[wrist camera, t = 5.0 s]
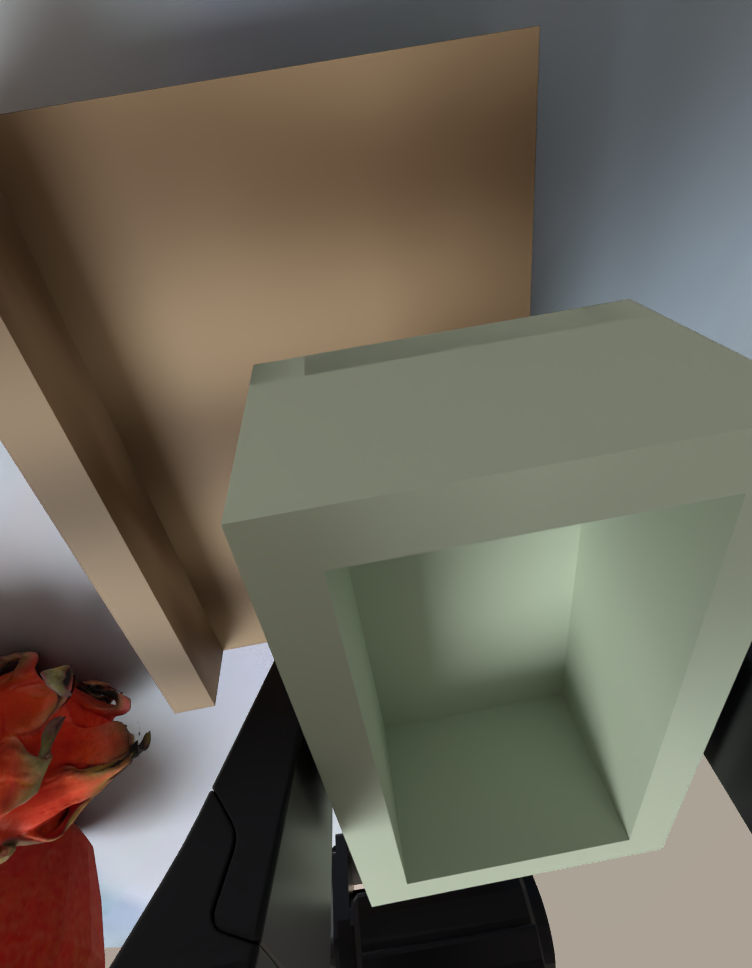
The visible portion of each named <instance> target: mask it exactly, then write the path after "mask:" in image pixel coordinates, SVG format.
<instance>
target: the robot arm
mask: <svg viewBox="0 0 752 968" xmlns="http://www.w3.org/2000/svg"><path fill="white" fill-rule="evenodd" d="M703 754H704V755H705V757H706V759H707V760H708V762H709V764H710V765H711V767H712V769H713V770H714V772H715V774H716V775H717V777H718V779H719V780H720V782H721V784H722V785H723V787H724V788H725V790H726V792H727V793H728V795H729V797H730V798H731V800H732V802H733V803H734V805H735V807H736V808H737V810H738V812H739V813H740V815H741V817H742V818H743V820H744V822H745V823H746V825H747V827H748V828H749V830H750V832H751V833H752V641H751V644H750V646H749V648H748V651H747V653H746V655H745V658H744V660H743V662H742V665H741V667H740V669H739V672H738V674H737V676H736V679H735V681H734V683H733V686H732V688H731V690H730V693H729V695H728V697H727V699H726V702H725V704H724V706H723V709H722V711H721V713H720V716H719V718H718V720H717V723H716V725H715V727H714V730H713V732H712V734H711V737H710V739H709V741H708V744H707V746H706V748H705V751H704V753H703ZM213 790H214V791H210V792H209V794H208V796H207V798H206V800H205V803H204V805H203V807H202V809H201V811H200V813H199V815H198V817H197V819H196V821H195V823H194V824H193V826H192V828H191V830H190V832H189V834H188V836H187V838H186V840H185V842H184V844H183V845H182V847H181V849H180V851H179V853H178V854H177V856H176V858H175V859H174V861H173V863H172V865H171V866H170V868H169V870H168V871H167V873H166V875H165V877H164V878H163V880H162V882H161V883H160V885H159V887H158V888H157V890H156V892H155V893H154V895H153V897H152V898H151V900H150V902H149V903H148V905H147V907H146V908H145V910H144V911H143V913H142V915H141V916H140V918H139V920H138V921H137V923H136V925H135V926H134V928H133V930H132V931H131V933H130V935H129V936H128V938H127V939H126V941H125V943H124V944H123V946H122V948H121V950H120V951H119V953H118V954H117V956H116V958H115V959H114V961H113V962H112V964H111V966H110V967H109V968H555V954H554V947H553V941H552V936H551V931H550V927H549V923H548V919H547V915H546V912H545V908H544V906H543V902H542V899H541V896H540V894H539V891H538V888H537V886H536V883H535V881H534V878H533V875H529V876H524V877H519V878H514V879H509V880H504V881H499V882H494V883H489V884H484V885H479V886H474V887H469V888H464V889H459V890H454V891H449V892H444V893H439V894H434V895H429V896H424V897H419V898H414V899H409V900H404V901H399V902H394V903H389V904H384V905H379V906H374V907H372V906H371V903H370V901H369V898H368V896H367V893H366V890H365V888H364V889H359V890H354V885H357V884H363V883H362V880H361V878H360V875H359V873H358V870H357V868H356V865H355V863H354V860H353V858H352V855H351V853H350V850H349V847H348V845H347V842H346V840H345V837H344V835H343V833H341V834H336V835H335V839H336V846H334V847H333V848H332V808H333V807H332V804H331V802H330V799H329V797H328V794H327V792H326V789H325V787H324V784H323V782H322V779H321V777H320V774H319V772H318V769H317V767H316V764H315V761H314V759H313V756H312V754H311V751H310V749H309V746H308V744H307V741H306V739H305V736H304V734H303V731H302V729H301V726H300V724H299V721H298V718H297V716H296V713H295V711H294V708H293V706H292V703H291V701H290V698H289V696H288V693H287V691H286V688H285V686H284V683H283V681H282V678H281V675H280V673H279V670H278V668H277V665H276V663H275V660H274V662H273V664H272V666H271V668H270V670H269V672H268V675H267V677H266V679H265V681H264V683H263V685H262V687H261V689H260V691H259V693H258V695H257V697H256V699H255V701H254V703H253V705H252V707H251V709H250V711H249V713H248V715H247V717H246V719H245V721H244V723H243V725H242V728H241V730H240V732H239V734H238V736H237V738H236V740H235V742H234V744H233V746H232V748H231V750H230V752H229V754H228V756H227V758H226V760H225V762H224V764H223V766H222V768H221V770H220V772H219V774H218V776H217V778H216V781H215V783H214V785H213Z"/></svg>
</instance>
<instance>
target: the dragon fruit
mask: <svg viewBox="0 0 752 968" xmlns="http://www.w3.org/2000/svg"><path fill="white" fill-rule="evenodd" d="M38 659H39V656H38V654H37V653H36V652H30V651H27V652H25V653H22V652H19V653H13V654H11V655H7V656H1V657H0V671H1V670H2V669H3V668H5V667H6V666H7V665H9V664H10V663H12V662H14V661H16V660H19V663H18V664H17V666H16V668H15V669H14V671H12V672H9V673H6V674H3V675H0V864H2V863H3V862H5V861H6V860H8V859H9V858H10V856H11V855H12V854H13V853H14V852H15V850H16V846H26V845H32V844H40V843H44V842H51V841H54V840H56V839H58V838H60V837H61V836H62V835H63V834H64V832H65V831H66V830H67V829H68V827H69V826H70V825H71V824H72V823H73V822H74V821H75V820H76V818H77V817H78V815H79V814H80V813H81V811H82V810H83V809H84V807H85V806H86V805H87V804H88V803H89V802H90V801H91V800H92V799H93V798H94V797H95V796H96V795H97V794H98V793H100V792H101V791H102V790H103V789H104V788H105V787H106V786H107V785H108V784H109V783H110V782H111V781H112V780H113V779H114V778H115V777H116V776H117V775H118V774H120V772H121V771H124V769H125V768H126V767H127V766H128V765H130V764H131V763H132V761H133V759H134V758H136V757H138V756H139V754H140V753H141V752H143V751H146V750H147V749H148V747H149V745H150V741H151V734H150V731H149V732H148V733H146V734H145V735H144V738H143V740H141V743H140V744H139V745H138V741H136V742H135V743H134V735H133V734H131V733H130V732H129V731H128V730H127V728H126V727H127V725H124V724H123V723H122V722H118V721H113V719H114V718H115V717H116V716H120V715H124V714H126V713H127V712H128V711H129V710H130V708H131V700H130V698H128V697H126V696H123V695H122V693H123V692H121V693H120V694H119V693H118V692H116V691H115V689H114V690H111V689H113V688H112V687H111V686H110V684H109V683H107V682H99V681H98V680H99V679H98V680H89V681H84V682H81V683H83V684H89V685H97V686H96V687H91V686H88V689H89V690H90V691H93V692H96V693H99V694H102V695H103V696H97V695H94V694H92V693H90V692H89V691H88V690H87V689H86V688H84V687H83V686H82V685H81V684H78V683H76V674H74V675H73V672H72V669H71V666H70V665H63V666H60V667H56V668H53V669H48V670H44V671H42V672H41V674H40V675H41V676H42V678H43V680H42V679H41V678H40V677H39V676H38V674H37V672H36V670H35V666H36V664H37V662H38ZM117 691H118V690H117ZM113 699H114V700H115V701H116V705H112V704H111V702H112V701H113ZM138 724H139V723H138ZM139 734H140V733H139Z"/></svg>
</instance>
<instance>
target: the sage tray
mask: <svg viewBox="0 0 752 968" xmlns="http://www.w3.org/2000/svg"><path fill="white" fill-rule="evenodd" d="M221 526H222V529H223V531H224V534H225V536H226V539H227V541H228V544H229V546H230V549H231V552H232V554H233V557H234V559H235V562H236V564H237V567H238V569H239V572H240V574H241V577H242V579H243V582H244V584H245V587H246V589H247V592H248V595H249V597H250V600H251V602H252V605H253V607H254V610H255V612H256V615H257V617H258V620H259V622H260V625H261V627H262V630H263V632H264V635H265V638H266V640H267V643H268V645H269V648H270V650H271V653H272V655H273V658H274V660H275V663H276V665H277V668H278V670H279V673H280V675H281V678H282V681H283V683H284V686H285V688H286V691H287V693H288V696H289V698H290V701H291V703H292V706H293V708H294V711H295V713H296V716H297V718H298V721H299V724H300V726H301V729H302V731H303V734H304V736H305V739H306V741H307V744H308V746H309V749H310V751H311V754H312V756H313V759H314V761H315V764H316V767H317V769H318V772H319V774H320V777H321V779H322V782H323V784H324V787H325V789H326V792H327V794H328V797H329V799H330V802H331V804H332V807H333V810H334V812H335V815H336V817H337V820H338V822H339V825H340V827H341V830H342V832H343V835H344V837H345V840H346V842H347V845H348V847H349V850H350V853H351V855H352V858H353V860H354V863H355V865H356V868H357V870H358V873H359V875H360V878H361V880H362V883H363V885H364V888H365V890H366V893H367V896H368V898H369V901H370V903H371V906H372V907H374V906H379V905H384V904H389V903H394V902H399V901H404V900H409V899H414V898H419V897H424V896H429V895H434V894H439V893H444V892H449V891H454V890H459V889H464V888H469V887H474V886H479V885H484V884H489V883H494V882H499V881H504V880H509V879H514V878H519V877H524V876H529V875H534V874H539V873H544V872H549V871H554V870H559V869H564V868H569V867H574V866H579V865H584V864H589V863H594V862H599V861H604V860H609V859H614V858H619V857H624V856H629V855H634V854H639V853H644V852H649V851H654V850H659V849H662V848H663V846H664V843H665V841H666V839H667V836H668V834H669V831H670V829H671V827H672V825H673V822H674V820H675V818H676V815H677V813H678V811H679V808H680V806H681V804H682V802H683V799H684V797H685V794H686V792H687V790H688V788H689V785H690V783H691V780H692V778H693V776H694V773H695V771H696V769H697V767H698V764H699V762H700V760H701V757H702V755H703V753H704V751H705V748H706V746H707V744H708V741H709V739H710V737H711V734H712V732H713V730H714V727H715V725H716V723H717V720H718V718H719V716H720V713H721V711H722V709H723V706H724V704H725V702H726V699H727V697H728V695H729V693H730V690H731V688H732V686H733V683H734V681H735V679H736V676H737V674H738V672H739V669H740V667H741V665H742V662H743V660H744V658H745V655H746V653H747V651H748V648H749V646H750V644H751V641H752V360H751V359H749V358H747V357H745V356H743V355H741V354H739V353H737V352H735V351H733V350H731V349H729V348H727V347H725V346H723V345H721V344H719V343H717V342H715V341H713V340H711V339H709V338H707V337H705V336H703V335H701V334H699V333H697V332H695V331H693V330H691V329H689V328H687V327H685V326H683V325H681V324H679V323H677V322H675V321H673V320H671V319H669V318H667V317H665V316H663V315H661V314H659V313H657V312H655V311H653V310H651V309H649V308H647V307H645V306H643V305H641V304H639V303H637V302H635V301H633V300H631V299H627V300H621V301H615V302H610V303H604V304H598V305H593V306H587V307H581V308H575V309H570V310H564V311H558V312H553V313H547V314H541V315H535V316H530V317H524V318H518V319H513V320H507V321H501V322H495V323H490V324H484V325H478V326H473V327H467V328H461V329H455V330H450V331H444V332H438V333H433V334H427V335H421V336H415V337H410V338H404V339H398V340H393V341H387V342H381V343H375V344H370V345H364V346H358V347H353V348H347V349H341V350H335V351H330V352H324V353H318V354H313V355H307V356H301V357H295V358H290V359H284V360H278V361H273V362H267V363H261V364H255V365H253V370H252V375H251V379H250V384H249V389H248V394H247V399H246V404H245V409H244V414H243V419H242V423H241V428H240V433H239V438H238V443H237V448H236V453H235V458H234V463H233V467H232V472H231V477H230V482H229V487H228V492H227V497H226V502H225V507H224V511H223V516H222V521H221Z"/></svg>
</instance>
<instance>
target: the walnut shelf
mask: <svg viewBox="0 0 752 968" xmlns="http://www.w3.org/2000/svg"><path fill="white" fill-rule="evenodd" d="M539 35H540V26H534V27H528V28H522V29H516V30H510V31H504V32H498V33H492V34H486V35H480V36H474V37H468V38H461V39H455V40H449V41H443V42H437V43H431V44H425V45H419V46H413V47H407V48H401V49H395V50H389V51H383V52H376V53H370V54H364V55H358V56H352V57H346V58H340V59H334V60H328V61H322V62H316V63H310V64H304V65H298V66H291V67H285V68H279V69H273V70H267V71H261V72H255V73H249V74H243V75H237V76H231V77H225V78H219V79H213V80H207V81H200V82H194V83H188V84H182V85H176V86H170V87H164V88H158V89H152V90H146V91H140V92H134V93H128V94H122V95H115V96H109V97H103V98H97V99H91V100H85V101H79V102H73V103H67V104H61V105H55V106H49V107H43V108H37V109H30V110H24V111H18V112H12V113H6V114H0V440H1V442H2V443H3V445H4V446H5V448H6V450H7V451H8V453H9V454H10V456H11V457H12V459H13V461H14V462H15V464H16V465H17V467H18V468H19V470H20V472H21V473H22V475H23V476H24V478H25V479H26V481H27V483H28V484H29V486H30V487H31V489H32V490H33V492H34V493H35V495H36V497H37V498H38V500H39V501H40V503H41V504H42V506H43V508H44V509H45V511H46V512H47V514H48V515H49V517H50V519H51V520H52V522H53V523H54V525H55V526H56V528H57V530H58V531H59V533H60V534H61V536H62V537H63V539H64V540H65V542H66V544H67V545H68V547H69V548H70V550H71V551H72V553H73V555H74V556H75V558H76V559H77V561H78V562H79V564H80V566H81V567H82V569H83V570H84V572H85V573H86V575H87V577H88V578H89V580H90V581H91V583H92V584H93V586H94V587H95V589H96V591H97V592H98V594H99V595H100V597H101V598H102V600H103V602H104V603H105V605H106V606H107V608H108V609H109V611H110V613H111V614H112V616H113V617H114V619H115V620H116V622H117V624H118V625H119V627H120V628H121V630H122V631H123V633H124V635H125V636H126V638H127V639H128V641H129V642H130V644H131V645H132V647H133V649H134V650H135V652H136V653H137V655H138V656H139V658H140V660H141V661H142V663H143V664H144V666H145V667H146V669H147V671H148V672H149V674H150V675H151V677H152V678H153V680H154V682H155V683H156V685H157V686H158V688H159V689H160V691H161V692H162V694H163V696H164V697H165V699H166V700H167V702H168V703H169V705H170V707H171V708H172V710H173V711H174V713H179V712H185V711H190V710H195V709H200V708H206V707H211V706H215V702H216V695H217V688H218V682H219V675H220V668H221V662H222V655H223V650H228V649H233V648H239V647H244V646H249V645H255V644H260V643H265V642H267V640H266V638H265V635H264V632H263V630H262V627H261V625H260V622H259V620H258V617H257V615H256V612H255V610H254V607H253V605H252V602H251V600H250V597H249V595H248V592H247V589H246V587H245V584H244V582H243V579H242V577H241V574H240V572H239V569H238V567H237V564H236V562H235V559H234V557H233V554H232V552H231V549H230V546H229V544H228V541H227V539H226V536H225V534H224V531H223V529H222V526H221V521H222V516H223V511H224V507H225V502H226V497H227V492H228V487H229V482H230V477H231V472H232V467H233V463H234V458H235V453H236V448H237V443H238V438H239V433H240V428H241V423H242V419H243V414H244V409H245V404H246V399H247V394H248V389H249V384H250V379H251V375H252V370H253V365H255V364H261V363H267V362H273V361H278V360H284V359H290V358H295V357H301V356H307V355H313V354H318V353H324V352H330V351H335V350H341V349H347V348H353V347H358V346H364V345H370V344H375V343H381V342H387V341H393V340H398V339H404V338H410V337H415V336H421V335H427V334H433V333H438V332H444V331H450V330H455V329H461V328H467V327H473V326H478V325H484V324H490V323H495V322H501V321H507V320H513V319H518V318H524V317H530V304H531V274H532V244H533V214H534V184H535V154H536V125H537V95H538V65H539Z"/></svg>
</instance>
